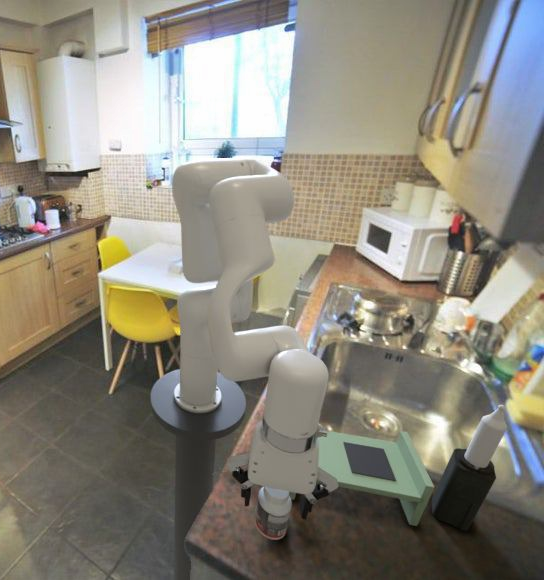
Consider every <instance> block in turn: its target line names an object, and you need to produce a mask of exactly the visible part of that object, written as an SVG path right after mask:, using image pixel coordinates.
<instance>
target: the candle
mask: <svg viewBox="0 0 544 580" xmlns="http://www.w3.org/2000/svg"><path fill="white" fill-rule="evenodd" d="M506 409H507V407H506V406H505V405H504V404H499V405H498V406H497V409H495V410H494V411H493V412H491V413H490V414H487V415H483V416H482V418H481V419H480V421H479V423H478V425H477V427H476V429H475V432H474V434H473V436H472V438H471V440H470V443H469V445H468V446H467V448H458V447H457V448H454V449H453V451H452V453H451V456H450V458H449V460H448V462H447V464H446V466H445V469H444V471H443V473H442V475H441V476H440V480H439V482H438V484H437V486H436V488H435V491H434V493H433V494H432V496H431V513H432V516H433V517H434V518H435V519H437V520H438V521H440V522H444V523H447V524H448V525H450V526H453V527H455V528H458V529H459V530H461V531H468V530H469V529H470V527H471V525H472V523H473V522H474V520H475V518H476V516H477V514H478V513H479V510H480V509H481V507H482V505H483V503H484V501H485V499H486V498H487V496H488V494H489V492H490V490H491V488H492V487H493V485H494V484H495V481H496V479H497V475H496V471H495V464H494V463H493V462H492V458H493V456H494V455H495V453H496V451H497V448H499V444H500V443H501V441H502V439H503V437H504V435H505V433H506V431H507V429H508V425H507V423H506V420H505V411H506Z"/></svg>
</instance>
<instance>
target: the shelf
mask: <svg viewBox="0 0 544 580" xmlns="http://www.w3.org/2000/svg"><path fill="white" fill-rule="evenodd" d="M318 444H319V462H318V467H319V468H321V469H323V470H324V471H326V472H327V473H329V474H330V475H332V476H333V477H335V478H336V479H337V481H338V486H339V487H338V488H344V489H349V490H354V491H358V492H364V493H367V494H374V495H379V496H384V497H389V498H394V499H398V500H399V501H400V504H401V507H402V510H403V512H404V514H405V517H406V520H407V522H408V525H410V526H415V527H417V526H418V525H419V523H420V521H421V518H422V516H423V514H424V512H425V510H426V508H427V505H428V503H429V500H430V498H431V497H432V495H433V492H434V490H435V489H436V488H435V485H434V483H433V481H432V479H431V477H430V475H429V474H428V471H427V469H426V467H425V465H424V462H423V461H422V459H421V457H420V454H419V452H418V451H417V449H416V447H415V445H414V442H413V441H412V439H411V437H410V435H409V432H408V431H403V430H400V431H399V434H398V436H397V439H396V441H390V440H385V439H379V438H378V439H377V438H373V437H366V436H360V435H355V434H348V433H341V432H336V431H332V430H331V431H329V430H327V437H323V436H321V437H318ZM320 482H321V481H319V480H318V479H317V481H316V483H317V484H318V483H320ZM289 496H290V498H291V501H295V499H296V496H297V493H294V492H289Z"/></svg>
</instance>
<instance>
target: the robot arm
mask: <svg viewBox="0 0 544 580" xmlns="http://www.w3.org/2000/svg"><path fill="white" fill-rule="evenodd" d="M171 190H172V198H173V201H174V205H175V208H176V211H177V214H178V217H179V221H180V235H181V237H180V238H181V261H182V262H181V263H182V273H183V276H184V279H185V280H186V281H187V282H189V283H192V284H207V283H208V284H209V283H216V285H208V286H200V287H194V288H189V289H187V290H185V291H183V292H182V293H180V294H179V296H178V297H177V301H176V310H177V316H178V322H179V334H180V337H179V339H180V341H179V342H180V343H179V344H180V345H179V347H180V349H179V351H180V352H179V369H180V383H179V384H178V385H177V386H176V387H175V390H174V399H175V401H176V403H177V404H178V405H179V406H180V407H181V408H183V409H184V410H186V411H189V412H193V413H207V412H211V411H213V410H215V409H216V408H217V407H218V406H219V405H220V403H221V400H222V394H221V391H220V389H219V388H218V387H217V372H219V373H221V375H222V376H223V377H225V378H226V379H228V380H230V381H234V382H243V381H250V380H255V379H256V380H257V379H260V378H265V377H266V378H267V377H268V378H267V385H266V390H265V391H266V392H265V400H264V406H263V412H262V413H263V414H262V420H259V421H258V422H257V423H256V425H255V427H254V429H253V432H252V435H251V439H250V442H249V448H248V452H246V453H242V454H236V455H234V456H227V457H226V459H225V460H226V461H225V466H226V468H227V469H228V471H229V472H230V474H232V475H231V476H232V478H233V479H234V480H236V481H237V482H238V483H239V484H240V487H241V488H240V498H243V499H244V507H247V508H248V507H249V506H250V503H251V502H250V501H251V495H252V486H254V485H258V486H262V487H263V486H265V487H270V488H275V489H279V490H284V491H289V492H294V493H296V494H300V498H299V511H300V518H301V519H302V520H307V519H308V515H309V513H312V511H313V508H314V505H316V504H317V503H318V500H321V499H324V498H326V497H328V496H329V494H330V493H333V492H334V491H335V490H337V489H339V488H340V487H339V486H338V481H337V479H336V478H335V477H333V476H332V475H330V474H329V473H327V472H326V471H324V470H323V469H321V468H319V467H318V462H319V444H318V437H321V436H323V437H327V431H328V428H327V427H325V426H322V425H319V422H320V419H321V414H322V410H323V405H324V402H325V398H326V394H327V393H326V392H327V388H328V384H329V379H330V378H329V377H330V373H329V369H328V367H327V365H326V363H325V362H324V361H323V360H322V359H320V358H319V357H318V356H316V355H315V354H313V353H312V352H311V350H310V348H309V347H308V345H307V344H306V342H305V340H304V339H303V337H302V335H301V334H300V333H299V332H298V331H297V330H296V329H295V328H293V327H292V326H289V325H274V326H268V327H262V328H261V327H260V328H254V329H247V330H239V331H234V329H233V325H232V324H238V323H242V322H245V321H247V319H249V317H250V315H251V313H252V308H253V290H254V289H253V288H254V287H253V286H254V279H255V278H257V277H259V276H260V275H262V274H264V273H266V272H267V271H268V270H270V269H271V268H272V267H273V266H274V264H275V260H276V259H275V253H274V250H273V246H272V242H271V239H270V234H269V231H268V226H267V224H275V223H281V222H285V221H286V220H287V219H288V218H290V216H291V215H292V212H293V210H294V207H295V195H294V190H293V188H292V185H291V183H290V182H289V180H288V179H287V177H285V176H284V174H282V173H281V172H280V171H278V170H276V169H275V168H273V167H272V166H269V165H268V164H266V163H265V162H263V161H261V160H260V159H257V158H253V157H232V158H231V157H230V158H206V159H197V160H190V161H187V162H183V163H182V164H180V165H179V166H177V167H176V169H175V170H174V172H173V175H172V181H171ZM245 466H247V467H245ZM241 467H245V468H244V469H243V468H241ZM317 479H318V480H319V481H321V482H320V483H318V482H316V481H317Z"/></svg>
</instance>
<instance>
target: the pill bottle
mask: <svg viewBox="0 0 544 580" xmlns="http://www.w3.org/2000/svg"><path fill="white" fill-rule="evenodd" d="M292 501H293V500H292V499H291V498H290V496H289V491H284V490H279V489H275V488H270V487H265V486H262V487H261V488H260V489H259V491H258V495H257V500H256V508H255V514H254V525H255V527H256V529H257V530H258V533H260V534H261V535H262V536H263V537H264V538H266V539H268V540H273V541H274V540H275V541H277V540H280V539H283V538H284V536H285V535H286V534H287V531H288V527H289V522H290V517H291V512H292V507H293V502H292Z"/></svg>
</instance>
